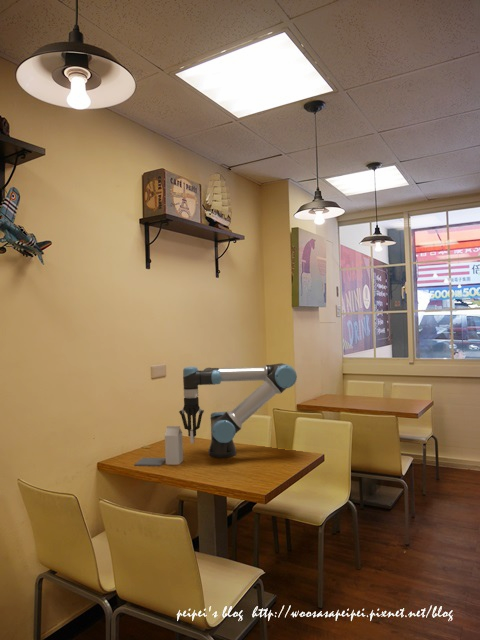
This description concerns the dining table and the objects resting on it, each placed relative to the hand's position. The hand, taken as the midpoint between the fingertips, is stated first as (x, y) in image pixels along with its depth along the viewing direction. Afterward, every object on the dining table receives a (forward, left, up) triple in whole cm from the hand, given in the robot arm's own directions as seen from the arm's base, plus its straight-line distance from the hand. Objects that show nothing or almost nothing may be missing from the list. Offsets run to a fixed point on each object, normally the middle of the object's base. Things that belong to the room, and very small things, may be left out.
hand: (192, 442), depth 238 cm
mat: (+22, 0, -11) cm, 25 cm away
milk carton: (+10, 0, -11) cm, 15 cm away
